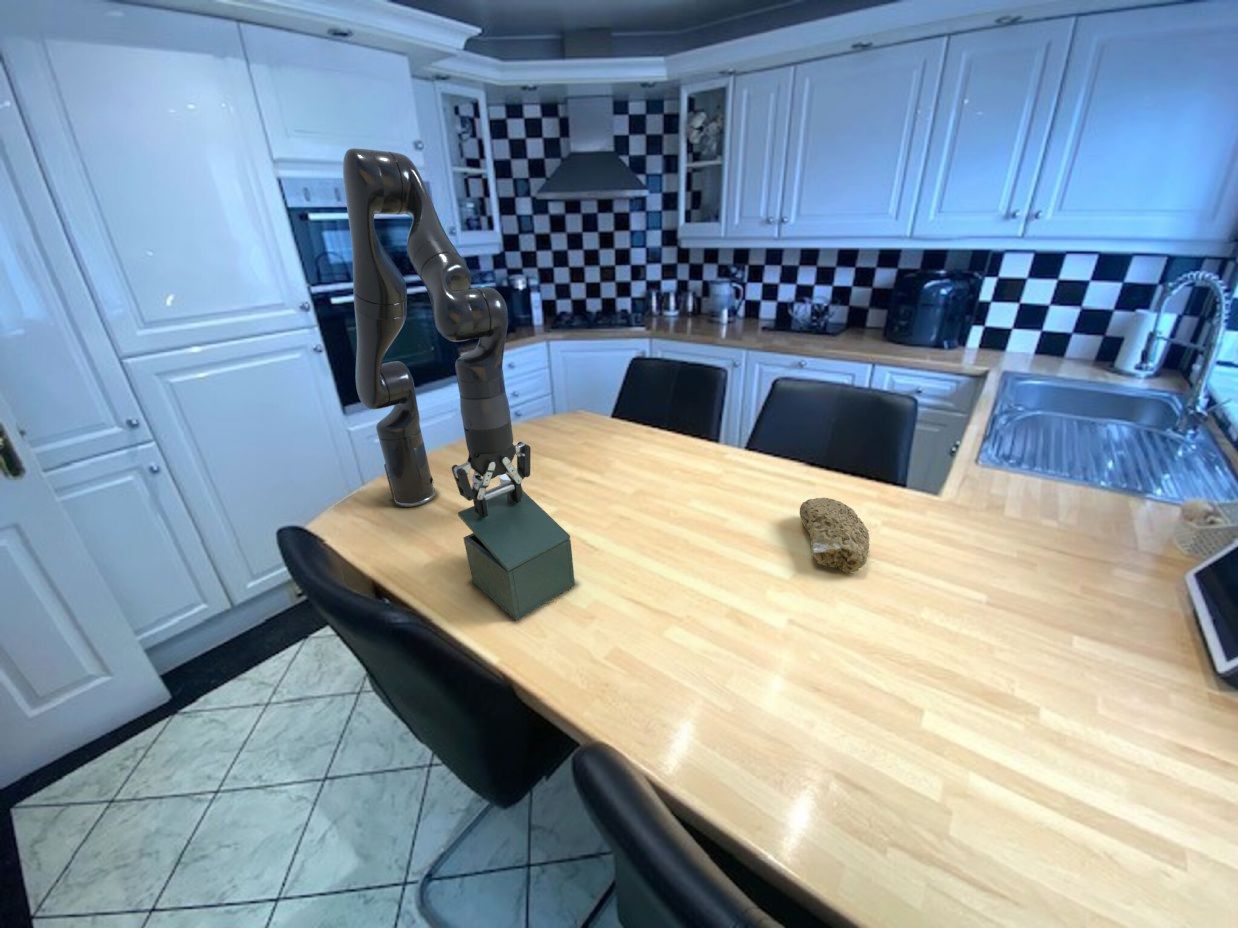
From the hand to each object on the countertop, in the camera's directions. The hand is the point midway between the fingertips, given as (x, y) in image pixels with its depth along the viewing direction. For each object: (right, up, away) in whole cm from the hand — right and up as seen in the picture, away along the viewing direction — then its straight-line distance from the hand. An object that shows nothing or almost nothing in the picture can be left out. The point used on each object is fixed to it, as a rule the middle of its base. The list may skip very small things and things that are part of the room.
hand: (500, 507), depth 89 cm
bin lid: (+3, -3, -2) cm, 4 cm away
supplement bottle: (-3, -4, +27) cm, 27 cm away
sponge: (+62, -8, +11) cm, 64 cm away
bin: (+3, -14, +4) cm, 15 cm away
